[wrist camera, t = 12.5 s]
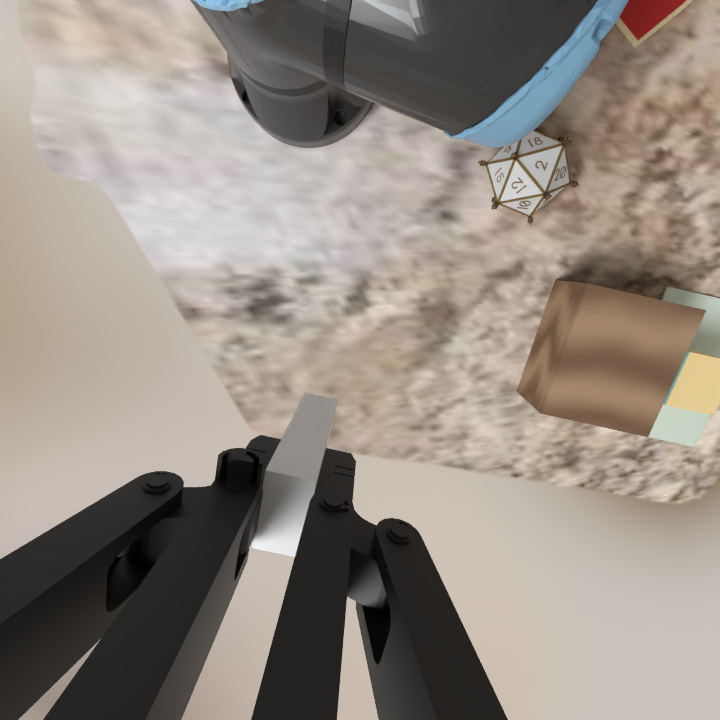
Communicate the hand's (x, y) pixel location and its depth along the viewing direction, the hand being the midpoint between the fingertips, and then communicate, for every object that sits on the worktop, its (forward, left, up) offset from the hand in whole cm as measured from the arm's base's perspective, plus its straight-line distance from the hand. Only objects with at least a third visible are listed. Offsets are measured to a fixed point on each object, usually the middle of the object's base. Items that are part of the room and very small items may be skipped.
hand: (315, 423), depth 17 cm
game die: (-19, +14, -30) cm, 38 cm away
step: (-3, +28, -29) cm, 41 cm away
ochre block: (-3, +34, -26) cm, 43 cm away
